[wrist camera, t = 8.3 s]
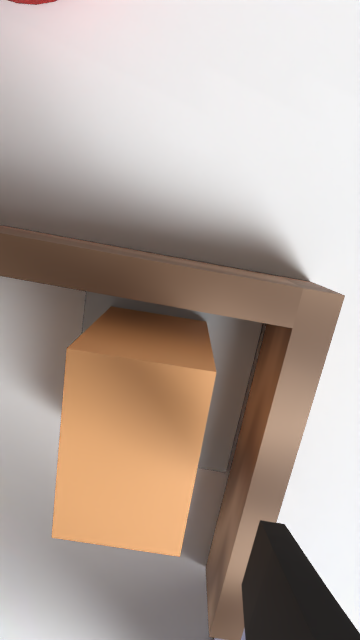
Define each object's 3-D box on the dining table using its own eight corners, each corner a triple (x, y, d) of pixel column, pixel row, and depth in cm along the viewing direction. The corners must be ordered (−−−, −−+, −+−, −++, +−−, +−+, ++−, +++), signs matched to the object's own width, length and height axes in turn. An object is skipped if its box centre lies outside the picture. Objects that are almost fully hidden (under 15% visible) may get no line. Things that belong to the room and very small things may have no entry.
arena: (231, 571, 20) (240, 642, 16) (-64, 523, 19) (-118, 584, 16) (310, 281, 16) (345, 295, 12) (-64, 213, 15) (-136, 208, 12)
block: (206, 321, 16) (216, 372, 10) (182, 450, 18) (179, 556, 12) (110, 306, 16) (66, 348, 10) (96, 437, 18) (51, 537, 12)
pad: (225, 471, 18) (225, 472, 18) (69, 444, 18) (69, 445, 18) (265, 311, 16) (265, 311, 16) (88, 279, 16) (87, 279, 16)
